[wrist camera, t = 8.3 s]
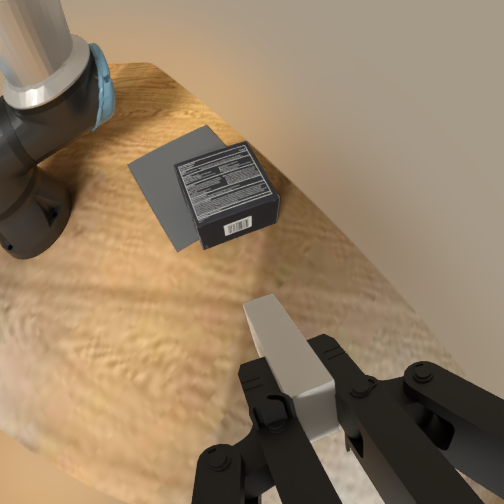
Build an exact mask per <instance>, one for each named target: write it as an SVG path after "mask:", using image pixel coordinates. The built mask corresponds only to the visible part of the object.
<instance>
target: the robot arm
mask: <svg viewBox="0 0 504 504" xmlns="http://www.w3.org/2000/svg"><path fill="white" fill-rule="evenodd" d="M0 70H1V71H2V73H3V74H4V76H5V80H4V83H3V96H1V97H0V244H1V246H2V247H3V249H4V250H5V251H7V252H8V253H9V254H10V255H12V256H13V257H15V258H17V259H29V258H33V257H35V256H37V255H39V254H41V253H42V252H44V251H45V250H46V249H47V248H49V247H50V246H51V245H52V244H53V243H54V242H55V240H56V239H57V238H58V237H59V235H60V234H61V232H62V231H63V229H64V227H65V225H66V223H67V220H68V218H69V215H70V210H71V197H70V193H69V191H68V190H67V188H66V187H65V185H64V184H63V183H62V181H61V180H59V179H58V178H57V177H55V176H53V175H52V174H50V173H48V172H47V171H45V170H43V169H42V168H40V167H38V166H37V164H39V163H40V162H41V161H43V160H44V159H46V158H48V157H49V156H51V155H52V154H54V153H56V152H57V151H59V150H60V149H62V148H64V147H65V146H67V145H69V144H70V143H72V142H74V141H76V140H77V139H79V138H81V137H83V136H84V135H86V134H88V133H90V132H93V131H94V130H95V129H96V128H97V127H98V126H100V125H102V124H103V123H105V122H106V121H108V120H109V119H111V117H112V116H113V115H114V112H115V109H116V98H115V91H114V86H113V82H112V79H111V78H110V71H109V67H108V64H107V62H106V59H105V56H104V54H103V52H102V50H101V49H100V47H99V46H98V45H97V44H95V43H91V44H87V42H86V41H85V40H84V39H83V38H82V37H80V36H77V35H73V34H70V31H69V28H68V25H67V22H66V19H65V15H64V13H63V9H62V6H61V3H60V0H0ZM242 304H243V307H244V310H245V314H246V317H247V320H248V323H249V327H250V330H251V333H252V337H253V340H254V343H255V346H256V349H257V352H258V354H259V356H260V358H259V359H256V360H253V361H250V362H247V363H244V364H241V365H240V369H239V372H238V376H239V379H240V382H241V385H242V388H243V391H244V394H245V397H246V400H247V403H248V406H249V416H250V418H251V420H252V423H253V426H252V429H251V431H250V433H249V434H248V435H247V436H246V437H245V438H244V439H243V440H241V441H240V442H238V443H236V444H235V445H233V446H231V445H229V444H218V445H213V446H211V447H209V448H207V449H206V450H204V452H203V453H202V454H201V455H200V456H199V459H198V462H197V468H196V475H195V482H194V489H193V496H192V503H191V504H261V494H262V493H264V492H265V491H267V490H269V489H270V488H272V487H273V486H275V485H276V488H277V491H278V493H279V496H280V499H281V501H282V504H342V502H341V500H340V498H339V496H338V495H337V493H336V491H335V489H334V487H333V485H332V483H331V481H330V479H329V478H328V476H327V474H326V472H325V470H324V468H323V466H322V464H321V462H320V460H319V458H318V456H317V455H316V453H315V451H314V449H313V447H312V445H311V442H313V441H316V440H318V439H321V438H323V437H326V436H328V435H330V434H333V433H335V432H337V431H339V430H340V428H339V423H340V425H341V426H342V428H343V430H344V432H345V445H346V450H347V452H348V451H350V448H351V450H352V451H353V453H354V454H355V456H356V458H357V459H358V461H359V463H360V464H361V466H362V467H363V469H364V471H365V472H366V474H367V475H368V477H369V479H370V480H371V482H372V483H373V485H374V487H375V488H376V490H377V491H378V493H379V494H380V496H381V498H382V499H383V501H384V502H385V504H484V502H483V501H482V500H481V499H480V498H479V496H478V495H477V494H476V493H475V492H474V491H473V489H472V488H471V487H470V486H469V485H468V483H467V482H466V481H465V480H464V479H463V478H462V476H461V475H460V474H459V473H458V472H457V471H456V469H457V470H459V471H460V472H462V473H463V474H465V475H466V476H468V477H469V478H471V479H472V480H474V481H475V482H477V483H478V484H480V485H482V486H483V487H485V488H486V489H488V490H489V491H491V492H493V493H494V494H496V495H497V496H499V497H501V498H502V499H504V400H503V399H501V398H499V397H497V396H495V395H494V394H492V393H489V392H488V391H486V390H484V389H482V388H480V387H478V386H476V385H474V384H472V383H471V382H469V381H467V380H465V379H463V378H461V377H459V376H457V375H455V374H453V373H452V372H450V371H448V370H446V369H444V368H442V367H440V366H438V365H436V364H434V363H431V362H428V361H420V362H416V363H413V364H412V365H410V366H408V368H407V369H406V370H405V372H404V376H403V377H399V378H394V379H390V380H377V379H376V378H375V377H372V376H369V375H365V374H364V373H363V372H362V371H361V370H360V368H359V367H358V366H357V365H356V364H355V363H354V361H353V360H352V359H351V358H350V357H349V355H348V354H347V353H345V351H344V350H343V348H342V347H340V345H339V344H338V342H337V341H336V340H335V339H334V338H332V337H330V336H328V335H326V334H322V335H319V336H317V337H314V338H311V339H309V340H306V339H305V338H304V337H303V335H302V334H301V332H300V331H299V330H298V328H297V327H296V325H295V324H294V322H293V321H292V320H291V318H290V317H289V315H288V314H287V312H286V311H285V310H284V308H283V307H282V305H281V304H280V302H279V301H278V300H277V298H276V297H275V295H274V294H273V293H272V294H269V295H266V296H263V297H260V298H257V299H254V300H251V301H248V302H245V303H242ZM455 468H456V469H455Z"/></svg>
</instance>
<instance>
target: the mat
mask: <svg viewBox="0 0 504 504" xmlns="http://www.w3.org/2000/svg"><path fill="white" fill-rule="evenodd" d="M224 147H226V146H225V145H224V144H223V143H222V141H221V140H220V139H219V138H218V137H217V136H216V135H215V134H214V133H213V132H212V131H211V130H210V128H209V127H208V126H207V125H205V126H203V127H200V128H198V129H196V130H194V131H192V132H190V133H188V134H186V135H183V136H181V137H179V138H177V139H175V140H173V141H171V142H169V143H167V144H165V145H163V146H161V147H159V148H157V149H155V150H153V151H152V152H150V153H148V154H146V155H144V156H142V157H140V158H138V159H137V160H135V161H133V162H131V163H129V164H127V165H128V167H129V169H130V171H131V173H132V174H133V176H134V178H135V180H136V182H137V184H138V185H139V187H140V189H141V191H142V192H143V194H144V196H145V198H146V200H147V201H148V203H149V205H150V207H151V208H152V210H153V212H154V214H155V215H156V217H157V219H158V220H159V222H160V224H161V226H162V227H163V229H164V231H165V232H166V234H167V236H168V237H169V239H170V241H171V242H172V244H173V246H174V247H175V249H176V251H177V252H179V251H180V250H182V249H184V248H185V247H187V246H189V245H190V244H192V243H194V242H196V241H197V240H199V237H198V235H197V232H196V230H195V227H194V225H193V222H192V219H191V217H190V214H189V212H188V209H187V206H186V203H185V200H184V198H183V195H182V192H181V189H180V186H179V183H178V179H177V176H176V173H175V169H174V164H176V163H179V162H182V161H185V160H188V159H191V158H194V157H197V156H200V155H203V154H206V153H209V152H212V151H215V150H218V149H221V148H224Z"/></svg>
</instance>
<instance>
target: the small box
mask: <svg viewBox="0 0 504 504" xmlns="http://www.w3.org/2000/svg"><path fill="white" fill-rule="evenodd" d="M174 169H175V173H176V176H177V179H178V183H179V186H180V189H181V192H182V195H183V198H184V200H185V203H186V206H187V209H188V212H189V214H190V217H191V219H192V222H193V225H194V227H195V230H196V232H197V235H198V237H199V240H200V243H201V245H202V248H203V250H206V249H208V248H211V247H213V246H216V245H218V244H221V243H224V242H226V241H229V240H232V239H234V238H237V237H240V236H242V235H245V234H248V233H250V232H253V231H256V230H258V229H261V228H264V227H267V226H269V225H272V224H275V223H277V219H278V210H279V204H280V203H279V202H280V195H279V194H278V193H277V192H276V190H275V188H274V187H273V185H272V183H271V182H270V180H269V178H268V176H267V175H266V173H265V171H264V169H263V168H262V166H261V165H260V163H259V161H258V159H257V158H256V156H255V154H254V153H253V151H252V149H251V148H250V146H249V143H248V142H247V141H244V142H241V143H237V144H234V145H231V146H228V147H224V148H221V149H218V150H215V151H212V152H209V153H206V154H203V155H200V156H197V157H194V158H191V159H188V160H185V161H182V162H179V163H176V164H174Z"/></svg>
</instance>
